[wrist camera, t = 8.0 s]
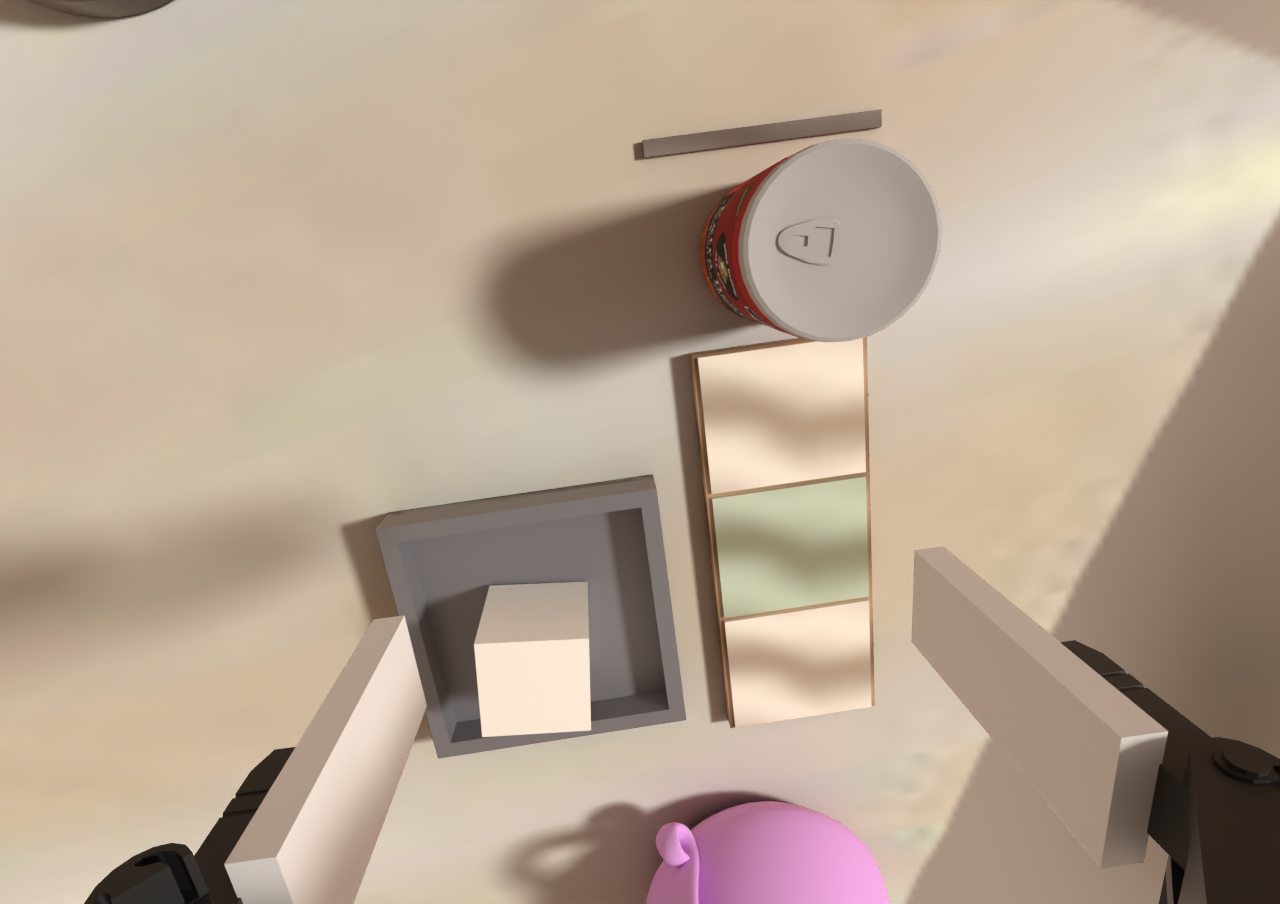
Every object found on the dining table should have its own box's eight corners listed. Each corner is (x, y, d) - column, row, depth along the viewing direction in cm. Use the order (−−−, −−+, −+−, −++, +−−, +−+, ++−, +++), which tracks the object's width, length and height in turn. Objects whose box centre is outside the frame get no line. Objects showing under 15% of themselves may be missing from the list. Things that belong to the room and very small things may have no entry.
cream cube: (471, 644, 33) (479, 739, 34) (588, 638, 33) (591, 732, 35) (487, 584, 38) (493, 668, 40) (587, 580, 39) (589, 663, 41)
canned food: (684, 195, 34) (725, 164, 23) (829, 160, 34) (935, 112, 23) (711, 336, 36) (760, 365, 25) (847, 303, 36) (952, 318, 25)
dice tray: (389, 512, 37) (374, 529, 35) (652, 474, 38) (656, 488, 36) (447, 730, 42) (438, 758, 40) (681, 694, 43) (686, 719, 40)
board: (642, 141, 33) (643, 137, 31) (878, 111, 33) (888, 105, 32) (709, 720, 43) (712, 733, 42) (886, 693, 44) (894, 704, 43)
